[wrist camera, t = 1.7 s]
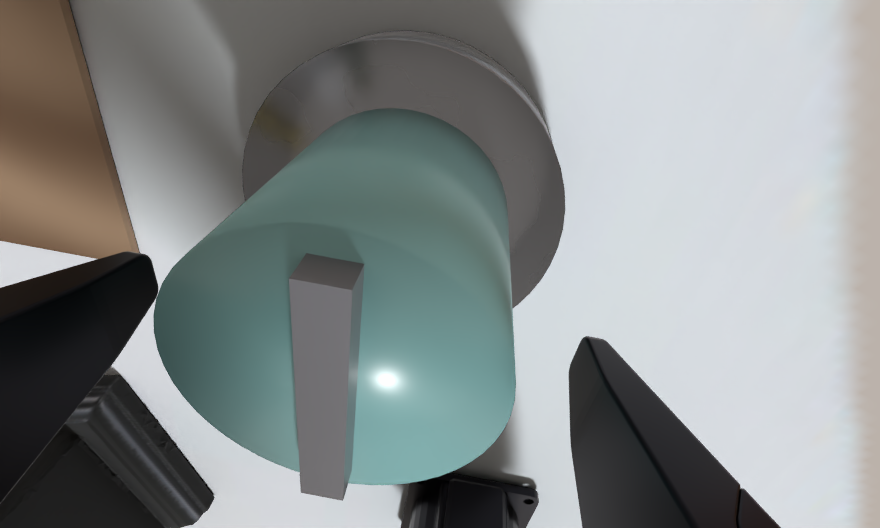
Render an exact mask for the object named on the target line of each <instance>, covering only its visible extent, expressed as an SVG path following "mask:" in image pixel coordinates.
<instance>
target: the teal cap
mask: <svg viewBox="0 0 880 528" xmlns="http://www.w3.org/2000/svg"><path fill="white" fill-rule="evenodd" d="M154 334H155V339H156V344H157V348H158V351H159V354H160V357H161V359H162V362H163V365H164V367H165V369H166V370H167V372H168V374H169V376H170V378H171V380H172V381H173V383H174V384H175V386H176V387H177V388H178V390H179V391H180V393H181V394H182V395H183V397H184V398H185V399H186V400H187V401H188V402H189V403H190V405H191V406H192V407H193V408H194V409H195V410H196V411H197V412H198V413H199V414H200V415H201V416H202V417H203V418H204V419H205V420H207V421H208V422H209V423H210V424H211V425H212V426H214V427H215V428H216V429H217V430H219V431H220V432H221V433H223V434H224V435H225V436H227V437H228V438H230V439H231V440H233V441H234V442H236V443H237V444H239V445H240V446H242V447H244V448H246V449H248V450H249V451H251V452H253V453H255V454H257V455H258V456H261V457H263V458H265V459H267V460H269V461H271V462H274V463H276V464H278V465H281V466H284V467H286V468H289V469H291V470H294V471H297V472H300V484H301V493H306V494H311V495H316V496H322V497H327V498H332V499H337V500H343V499H344V495H345V492H346V488H347V485H348V483H352V484H365V485H393V484H406V483H412V482H418V481H424V480H427V479H431V478H435V477H439V476H442V475H444V474H447V473H449V472H452V471H455V470H457V469H459V468H461V467H462V466H464V465H466V464H468V463H470V462H471V461H473V460H474V459H476V458H477V457H479V456H480V455H481V454H483V453H484V452H485V451H486V450H487V449H488V448H489V447H490V446H491V445H492V444H493V443H494V442H495V441H496V439H497V438H498V437H499V435H500V434H501V433H502V431H503V430H504V428H505V426H506V424H507V422H508V420H509V418H510V416H511V412H512V408H513V405H514V401H515V388H516V377H515V356H514V334H513V312H512V291H511V269H510V247H509V226H508V209H507V200H506V196H505V192H504V188H503V185H502V182H501V180H500V177H499V175H498V173H497V171H496V169H495V168H494V166H493V164H492V163H491V161H490V159H489V158H488V157H487V156H486V154H485V153H484V152H483V151H482V149H481V148H480V147H479V146H478V145H477V144H476V143H475V142H474V141H473V140H472V139H471V138H470V137H468V136H467V135H466V134H464V133H463V132H462V131H460V130H459V129H458V128H456V127H454V126H452V125H451V124H449V123H447V122H445V121H444V120H441V119H439V118H436V117H434V116H431V115H429V114H426V113H422V112H418V111H414V110H407V109H398V108H384V109H375V110H369V111H364V112H360V113H357V114H354V115H351V116H349V117H347V118H345V119H343V120H341V121H339V122H337V123H336V124H334V125H333V126H331V127H330V128H328V129H327V130H326V131H325V132H323V133H322V134H321V135H320V136H319V137H318V138H317V139H316V140H314V141H313V142H312V143H311V144H310V145H309V146H308V147H306V148H305V149H304V150H303V151H302V152H301V153H300V154H299V155H297V156H296V157H295V158H294V159H293V160H292V161H291V162H290V163H288V164H287V165H286V166H285V167H284V168H283V169H282V170H280V171H279V172H278V173H277V174H276V175H275V176H274V177H273V178H271V179H270V180H269V181H268V182H267V183H266V184H265V185H264V186H262V187H261V188H260V189H259V190H258V191H257V192H256V193H254V194H253V195H252V196H251V197H250V198H249V199H248V200H247V201H245V202H244V203H243V204H242V205H241V206H240V207H239V208H238V209H236V210H235V211H234V212H233V213H232V214H231V215H230V216H229V217H227V218H226V219H225V220H224V221H223V222H222V223H221V224H219V225H218V226H217V227H216V228H215V229H214V230H213V231H212V232H210V233H209V234H208V235H207V236H206V237H205V238H204V239H203V240H201V241H200V242H199V243H198V244H197V245H196V246H195V247H193V248H192V249H191V250H190V251H189V252H188V253H187V254H186V255H185V256H184V257H183V258H182V259H181V260H180V261H179V262H178V263H177V264H176V265H175V266H174V267H173V268H172V269H171V271H170V272H169V274H168V275H167V277H166V278H165V280H164V281H163V283H162V286H161V288H160V291H159V293H158V296H157V298H156V304H155V310H154Z"/></svg>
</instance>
